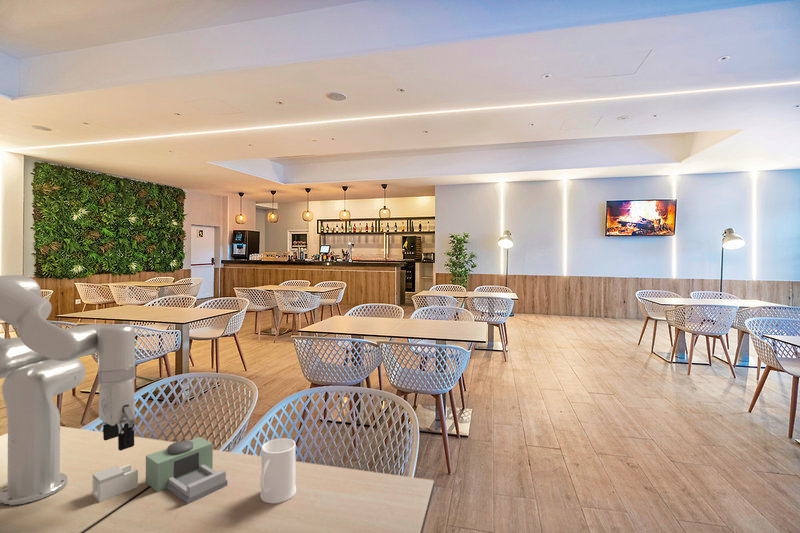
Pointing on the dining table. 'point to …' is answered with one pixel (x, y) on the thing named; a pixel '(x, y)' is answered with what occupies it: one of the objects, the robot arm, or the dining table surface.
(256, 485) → the dining table surface
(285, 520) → the dining table surface
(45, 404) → the robot arm
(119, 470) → the white box on legs
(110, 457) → the dining table surface
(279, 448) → the mug
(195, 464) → the toy coffee machine
